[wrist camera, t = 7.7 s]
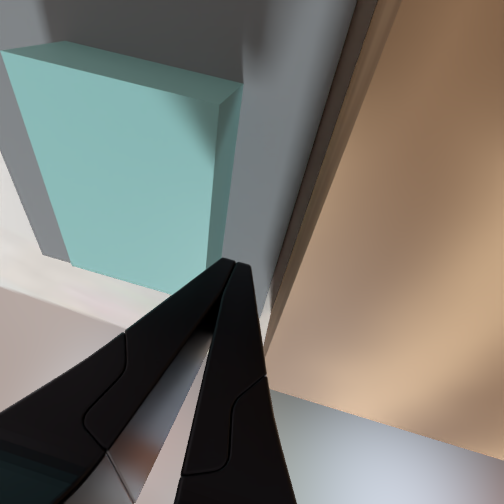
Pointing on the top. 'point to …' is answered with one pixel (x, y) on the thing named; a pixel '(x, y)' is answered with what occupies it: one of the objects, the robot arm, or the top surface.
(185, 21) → the slate mat
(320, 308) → the oak deck
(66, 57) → the teal tile
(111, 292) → the top surface
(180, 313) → the robot arm
